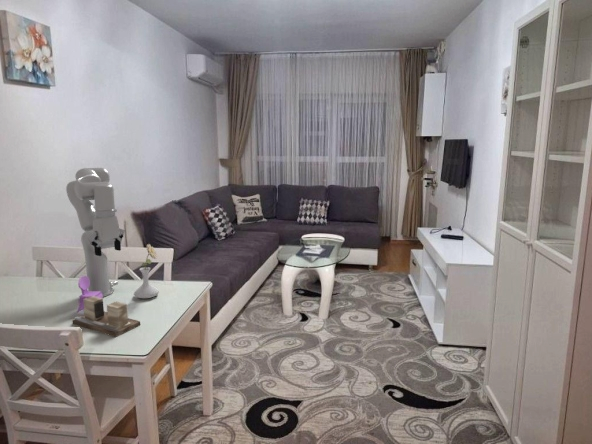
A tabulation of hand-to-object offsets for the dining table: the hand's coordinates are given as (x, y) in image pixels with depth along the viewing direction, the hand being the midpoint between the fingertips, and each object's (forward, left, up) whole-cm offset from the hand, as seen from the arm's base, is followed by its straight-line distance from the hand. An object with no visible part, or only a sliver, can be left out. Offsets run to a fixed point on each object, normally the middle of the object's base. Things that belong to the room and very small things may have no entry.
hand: (108, 252), depth 177 cm
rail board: (+12, +11, -26) cm, 30 cm away
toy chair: (+5, -8, -26) cm, 28 cm away
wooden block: (+12, +18, -24) cm, 32 cm away
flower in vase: (-19, +1, -26) cm, 32 cm away
